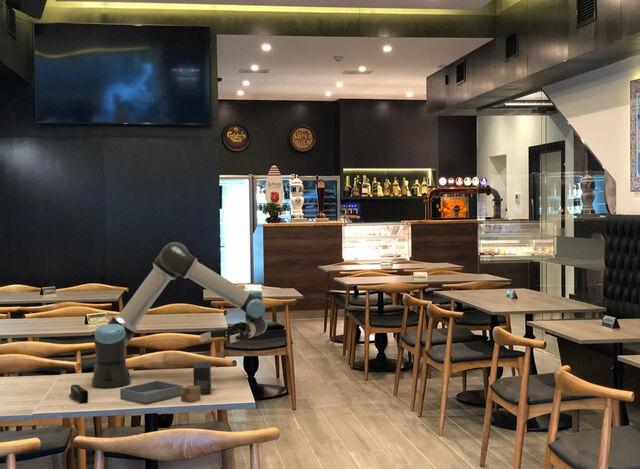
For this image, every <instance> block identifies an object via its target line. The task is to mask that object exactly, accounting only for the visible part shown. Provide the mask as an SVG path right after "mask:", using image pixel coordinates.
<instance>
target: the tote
mask: <svg viewBox="0 0 640 469" xmlns="http://www.w3.org/2000/svg"><path fill="white" fill-rule="evenodd" d="M181 387H184V385H182V384H178V383H172V382H167V381H162V380H153V381H149V382H145V383H141V384H136V385H131V386H127V387H126V386H125V387H123V388H122V387H121V388H120V389H119V390H120V391H119V393H120V400H125V401H131V402H134V403H139V404H142V405H150V404H153V403H158V402H162V401H165V400H171V399H173V398H177V397H181Z"/></svg>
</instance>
